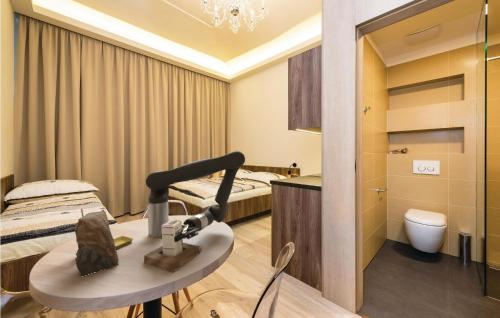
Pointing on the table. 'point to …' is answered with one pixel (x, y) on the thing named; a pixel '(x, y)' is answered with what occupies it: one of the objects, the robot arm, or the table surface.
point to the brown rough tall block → (95, 244)
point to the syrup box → (171, 238)
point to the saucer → (122, 241)
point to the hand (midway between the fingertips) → (168, 238)
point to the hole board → (168, 262)
